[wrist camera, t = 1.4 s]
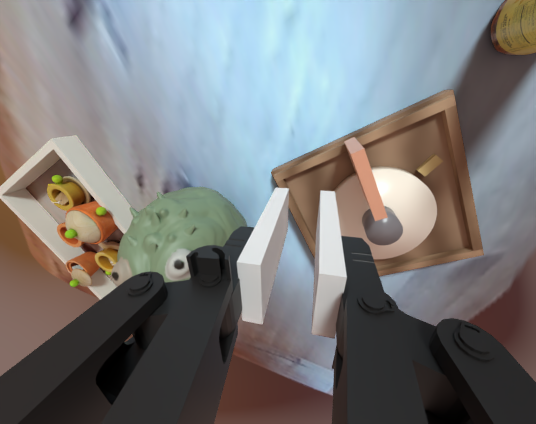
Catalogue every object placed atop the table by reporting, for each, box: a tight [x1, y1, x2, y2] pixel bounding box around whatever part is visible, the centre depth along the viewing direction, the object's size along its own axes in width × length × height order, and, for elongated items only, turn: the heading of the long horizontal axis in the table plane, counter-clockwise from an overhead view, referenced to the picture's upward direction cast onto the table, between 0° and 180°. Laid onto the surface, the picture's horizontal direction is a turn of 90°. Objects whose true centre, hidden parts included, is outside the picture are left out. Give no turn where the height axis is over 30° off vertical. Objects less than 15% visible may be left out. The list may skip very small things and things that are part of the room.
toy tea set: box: [47, 175, 120, 287], centre depth 44 cm, size 26×16×10 cm, turn 166°
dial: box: [334, 137, 437, 259], centre depth 26 cm, size 18×13×8 cm
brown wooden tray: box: [271, 90, 484, 276], centre depth 31 cm, size 22×22×3 cm
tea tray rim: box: [0, 135, 133, 300], centre depth 46 cm, size 23×33×4 cm
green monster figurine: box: [111, 187, 247, 286], centre depth 31 cm, size 16×19×20 cm
